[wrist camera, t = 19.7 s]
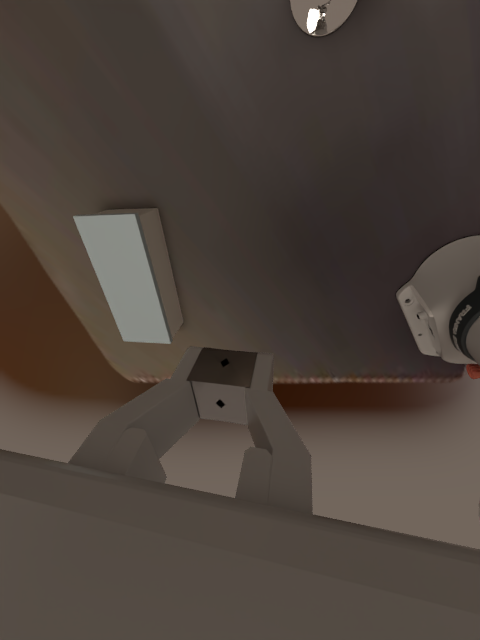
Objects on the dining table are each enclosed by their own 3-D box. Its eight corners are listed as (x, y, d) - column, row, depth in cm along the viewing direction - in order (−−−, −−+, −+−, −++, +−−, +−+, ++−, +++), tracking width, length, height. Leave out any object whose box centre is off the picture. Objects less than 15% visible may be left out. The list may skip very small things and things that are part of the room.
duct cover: (137, 212, 39) (134, 214, 38) (172, 340, 53) (170, 343, 52) (77, 215, 41) (72, 216, 40) (126, 338, 54) (123, 341, 54)
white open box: (157, 208, 44) (139, 215, 39) (183, 321, 58) (172, 337, 53) (107, 209, 46) (85, 217, 41) (143, 319, 60) (129, 334, 55)
